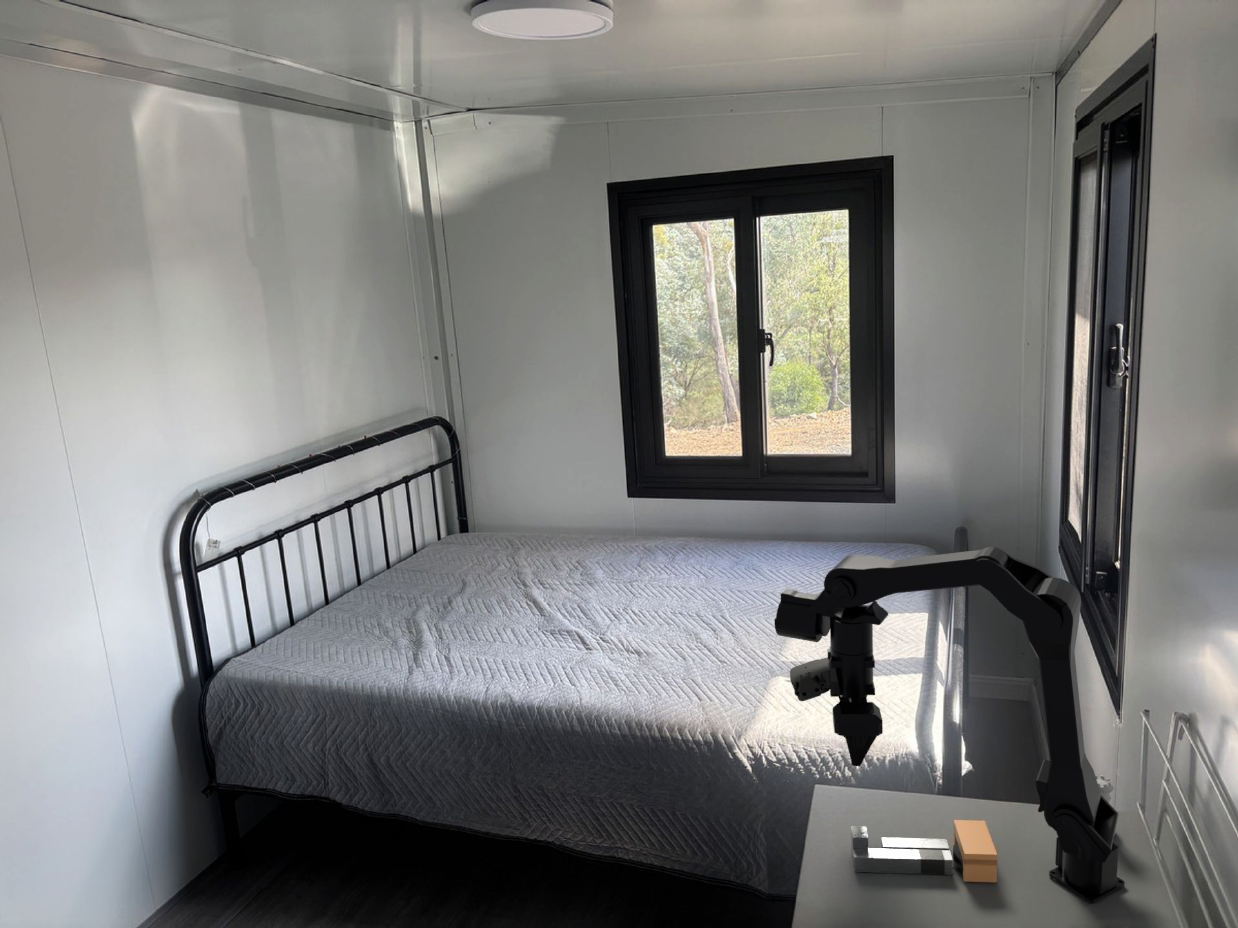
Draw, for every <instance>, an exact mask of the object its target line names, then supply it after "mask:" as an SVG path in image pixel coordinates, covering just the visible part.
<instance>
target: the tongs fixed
mask: <svg viewBox="0 0 1238 928" xmlns="http://www.w3.org/2000/svg"><path fill="white" fill-rule="evenodd" d="M953 844H954V843H953ZM881 849H926V850H950V847H949V844H948V840H947V839H946V838H922V837H921V838H916V837H915V838H913V837H881ZM952 859H953V868H954V869H955V870H956V871H957V872H959V873H960V874H962V875H963V858H962V855H961V852H960V849H959V846H958V842H957V843H955V844H954V846H953V845H952Z"/></svg>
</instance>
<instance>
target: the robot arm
mask: <svg viewBox="0 0 1238 928" xmlns="http://www.w3.org/2000/svg"><path fill="white" fill-rule="evenodd" d="M977 586H981V587H982V588H983V589H985V590H987V591H988V592H989V593H990V594H991V595H993V597H994V598H995V599H996V600H997V601H998V602H999V603H1000V604H1001V605H1002V606H1003V607H1004V608H1005V609H1006V610H1007V611H1008V612H1009V613H1010V614H1012V615H1013V616H1015V617H1016V618H1018V620H1019V619H1020V620H1021V621H1022V623H1023V627H1024V629H1025V633H1026V636H1027V639H1028V643H1029V644H1030V646H1031V648H1032V649H1033V652H1034V654H1035V655H1036V658H1037V660H1038V664H1039V673H1040V674H1039V675H1040V682H1041V692H1042V701H1043V710H1044V718H1045V719H1044V720H1045V728H1046V737H1047V746H1048V754H1049V760H1048V759H1043V760H1042V763H1041V765H1040V768H1039V771H1038V773H1037V778H1036V780H1035V786H1036V788H1035V789H1036V792H1037V794H1038V798H1039V799H1038V800H1039V805H1038V809H1037V812H1038V813H1042V812H1043V817H1044V820H1045V822H1046V824H1047V826H1048V827H1049V828H1052V829H1053V830H1054V831H1055V832H1056V835H1057V837H1056V838H1055V839H1056V840H1055V842H1056V843H1055V866H1057V867H1054V868H1053V869H1051V870H1049V871H1048V876H1049V877H1050V878H1052V879H1053V880H1055V881H1056V882H1058V883H1059V884H1060V885H1062V886H1063V887H1065V888H1067V889H1068V890H1069V891H1071V892H1073V894H1076V895H1077V896H1078V897H1080V898H1082V899H1083V900H1085V901H1086V902H1088V903H1091V904H1093V903H1096V902H1098V901H1100V900H1101V899H1104V898H1106V897H1108V896H1109V895H1111V894H1113V893H1115V892H1116V891H1119V890H1121V889H1123V888H1124V887H1125V885H1126V882H1125V881H1124V880H1123V879H1121V878H1120V877H1118V870H1119V869H1118V867H1119V864H1118V863H1119V850H1120V849H1119V845H1116V844H1115V843H1114V838H1115V835H1116V833H1115V830H1116V827H1117V823H1118V819H1119V812H1118V811H1117V810H1116V809H1115V808H1114V807H1113V806H1112V805H1111V804H1110V802H1109V803H1108V802H1107V801H1106V800H1105V799H1104V798H1103V797H1102V796H1101V794H1100V789H1099V786H1098V783H1097V780H1096V776H1095V775H1096V774H1095V770H1094V768H1093V766H1092V765H1091V763H1090V761H1089V760H1088V758H1087V755H1086V753H1085V752H1086V751H1085V742H1084V734H1083V733H1084V732H1083V722H1082V713H1081V703H1080V694H1079V684H1078V675H1077V673H1078V672H1077V665H1076V655H1075V652H1076V650H1075V649H1076V645H1077V638H1078V631H1079V623H1080V613H1081V607H1082V598H1081V593H1080V591H1079V590H1078V588H1077V587H1076V586H1074V585H1073V584H1072V583H1070V582H1069V581H1068V580H1065V579H1063V578H1059V577H1053V576H1051V575H1050V574H1048V573H1047V572H1045V571H1044V570H1042V569H1041V568H1040V567H1037V566H1035V565H1033V564H1030V563H1028V562H1025V561H1023V560H1020V559H1017V558H1015V557H1013V556H1011V555H1010V554H1009V553H1007V552H1006V551H1004V550H1002V549H1000V548H999V547H994V546H987V547H984V548H982V549H977V550H969V551H960V552H951V553H942V554H935V555H927V556H926V555H925V556H915V557H908V558H901V559H900V558H899V559H895V558H893V559H892V558H886V557H882V556H879V555H872V554H871V555H869V554H868V555H867V554H851V555H847V556H845V557H843V558H842V559H841V560H840V561H839V562H838V563H837V564H836V565H835V566H834V567H833V568H831V569H830V570H829V571H828V572H827V573H826V576H825V577H824V581H823V587H824V588H823V589H822V591H820V592H819V593H818V594H815V593H808V592H803V591H798V590H797V589H795V590H794V589H790V588H786V589H785V590H784V591H783V592H781V593H780V601H779V603H778V607H777V610H776V614H775V615H776V616H775V618H774V629H775V630H774V631H775V633H776V634H777V636H779V637H785V638H790V639H796V640H802V641H808V642H813V643H819V642H820V641H821V640H822V637H827V636H828V635H829V634H830V639H829V640H830V642H829V643H830V645H829V648H827V649H826V650H827V656H826V657H823V658H818V659H814V660H811V661H808V662H805V663H802V664H801V663H800V664H799V665H795V666H794V667H792V668H791V669H790V670H789V680H790V684H791V686H792V688H793V690H794V696H795V697H797V700H798V701H800V702H805V701H810V700H812V699H815V698H818V697H821V695H823V694H826V693H828V692H829V694H830V697H831V698H836V697H837V698H838V699H839V702H837V703H836V704H835V705H834V706H833V707H832V723H833V724H832V725H833V731H834V732H833V733H834V734H836V735H838V736H841V737H843V738H845V740H846V745H847V749H848V754H849V757H850V762H851V765H852V767H860V766H861V765H862V764H863V762H864V760H865V758H866V756H867V754H868V753H869V750H871V747H872V745H873V743H874V742H875V740H876V738H877V737H879V736H881V735H882V734H883V732H884V731H883V728H884V727H883V718H882V714H881V709H880V707H879V706H877V705H876V704H875V702H873V701H868V699H867V698H868V696H876V686H875V683H874V669H875V668H876V666H875V665H876V660H875V656H874V647H873V646H874V639H873V637H874V634H873V633H874V631H873V630H874V629H873V628H874V627H873V625H876V626H881V624H882V623H883V622H884V621H885V619H886V618H888V616H889V612H888V611H887V610H886V609H885V608H883V607H882V606H881V605H880V604H878V600H881V599H883V598H884V597H888V596H891V595H894V594H895V595H896V594H902V593H913V592H914V593H915V592H922V591H923V592H924V591H933V590H934V591H935V590H944V589H953V588H954V589H956V588H964V587H977ZM1114 834H1115V835H1114Z"/></svg>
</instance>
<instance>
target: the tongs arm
mask: <svg viewBox="0 0 1238 928" xmlns="http://www.w3.org/2000/svg"><path fill="white" fill-rule="evenodd" d="M850 828H851V829H850V832H851V833H850V835H851V837H850V838H851V839H850V840H851V855H852V856H851V857H852V861H853V862H852V863H853V870H854V872H855V873H884V874H885V873H887V874H889V873H890V874H896V873H897V874H916V875H917V874H918V875H919V874H921V875H942V876H943V875H947V876H948V875H951V876H953V868H954V866H953V855H952V853H951V850H950V849H949V850H926V849H882V848H879V847H878V848H875V847H873V848H871V847H869V834H868V828H867V826H853V825H851V826H850Z"/></svg>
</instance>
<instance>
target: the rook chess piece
mask: <svg viewBox="0 0 1238 928" xmlns="http://www.w3.org/2000/svg"><path fill="white" fill-rule="evenodd" d="M1095 776H1096V780H1097V783H1098V786H1099V789H1100V794H1101V796H1102V797H1103V798H1104V799H1105V800H1106V801H1107V802H1108V803H1109V804H1110V801H1111V800H1112V797H1111V795H1110V794H1111V793H1112V792H1113V791H1114V789H1115V788H1114V786H1113V785H1112V783H1111V779H1110V778H1109V777H1106V776H1105V775H1102V774H1101V775H1100V777H1099V776H1098V774H1095ZM1105 777H1106V778H1105ZM1116 833H1117V831H1116V829H1115V834H1114V836H1115V835H1116Z"/></svg>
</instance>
